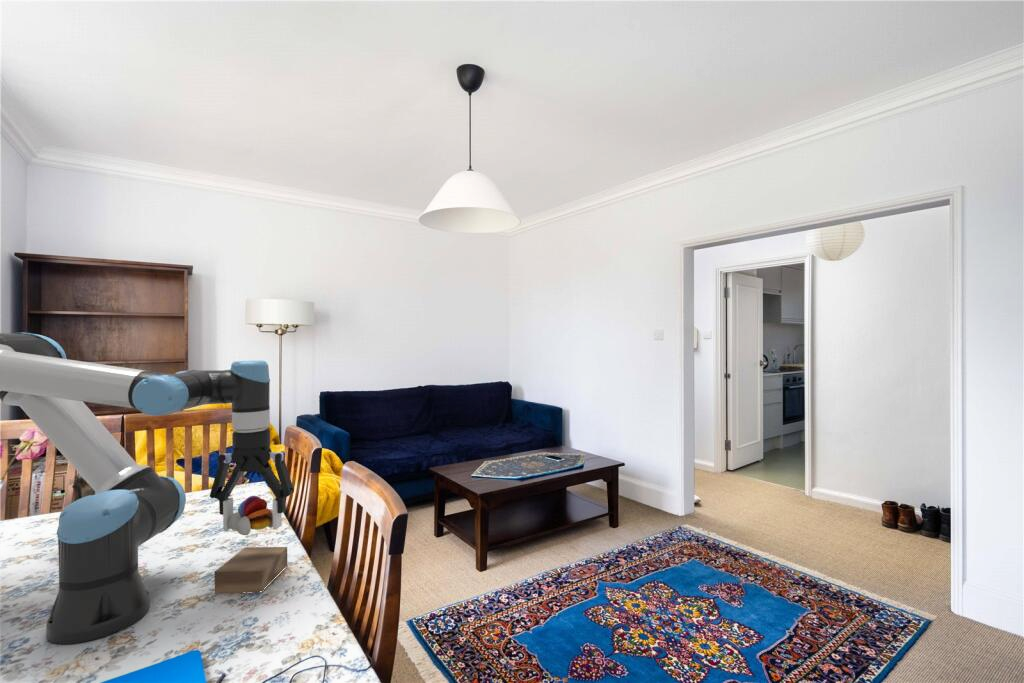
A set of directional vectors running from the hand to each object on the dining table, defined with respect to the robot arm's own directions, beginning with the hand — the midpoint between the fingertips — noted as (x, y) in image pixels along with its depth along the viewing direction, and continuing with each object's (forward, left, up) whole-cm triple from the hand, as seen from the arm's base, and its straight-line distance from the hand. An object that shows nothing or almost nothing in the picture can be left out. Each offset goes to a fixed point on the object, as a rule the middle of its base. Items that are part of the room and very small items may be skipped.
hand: (253, 527), depth 109 cm
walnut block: (0, 0, -12) cm, 12 cm away
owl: (+19, +48, -12) cm, 53 cm away
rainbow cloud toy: (0, 0, -1) cm, 1 cm away
